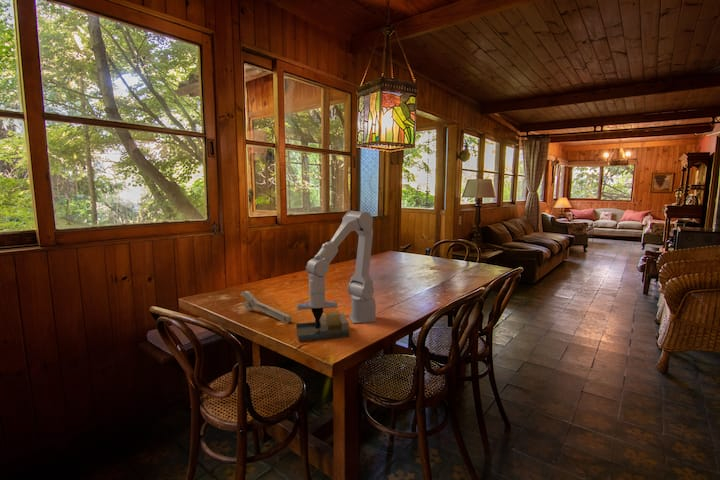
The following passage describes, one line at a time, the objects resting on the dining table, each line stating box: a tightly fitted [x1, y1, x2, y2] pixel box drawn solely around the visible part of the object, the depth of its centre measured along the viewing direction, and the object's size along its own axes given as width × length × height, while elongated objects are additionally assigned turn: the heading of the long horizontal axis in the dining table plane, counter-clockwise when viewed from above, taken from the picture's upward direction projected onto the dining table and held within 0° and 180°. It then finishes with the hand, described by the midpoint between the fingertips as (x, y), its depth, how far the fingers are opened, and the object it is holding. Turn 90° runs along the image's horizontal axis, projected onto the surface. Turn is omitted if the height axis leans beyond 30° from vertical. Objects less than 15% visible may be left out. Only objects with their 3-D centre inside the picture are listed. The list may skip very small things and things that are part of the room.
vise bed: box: [295, 313, 350, 343], centre depth 136 cm, size 18×12×5 cm, turn 103°
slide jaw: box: [319, 314, 328, 333], centre depth 136 cm, size 2×10×4 cm, turn 14°
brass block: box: [324, 310, 341, 331], centre depth 137 cm, size 5×4×6 cm
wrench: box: [240, 290, 292, 324], centre depth 154 cm, size 8×2×30 cm
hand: (317, 327), depth 136 cm, fingers closed
